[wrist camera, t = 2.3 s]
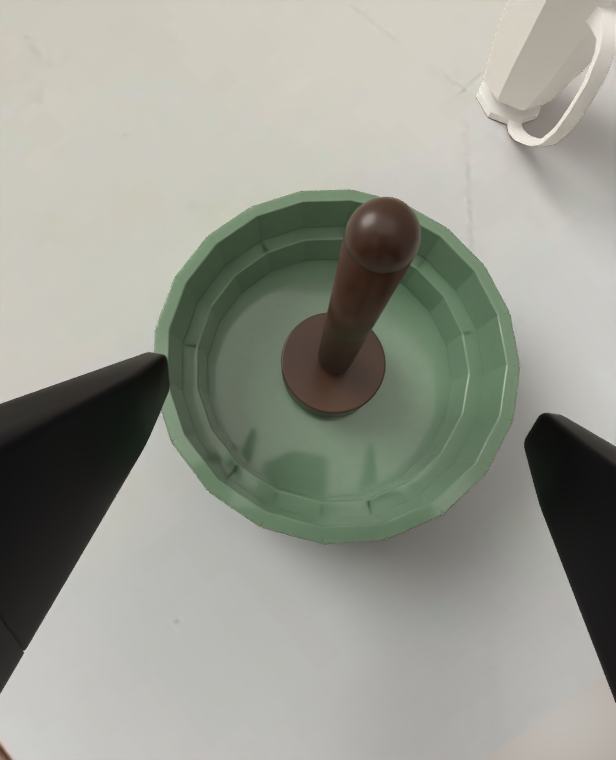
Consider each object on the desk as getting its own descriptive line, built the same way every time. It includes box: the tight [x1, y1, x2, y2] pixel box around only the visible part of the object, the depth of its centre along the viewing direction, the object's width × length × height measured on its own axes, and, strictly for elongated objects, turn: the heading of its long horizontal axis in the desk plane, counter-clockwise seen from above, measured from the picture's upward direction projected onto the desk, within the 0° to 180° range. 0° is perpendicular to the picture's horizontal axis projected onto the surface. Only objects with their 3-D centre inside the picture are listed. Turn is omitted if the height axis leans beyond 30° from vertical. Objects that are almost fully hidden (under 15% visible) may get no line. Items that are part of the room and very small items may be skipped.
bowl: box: [154, 190, 520, 544], centre depth 17 cm, size 15×15×4 cm
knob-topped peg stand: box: [281, 197, 421, 418], centre depth 13 cm, size 5×5×12 cm
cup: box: [476, 0, 616, 147], centre depth 20 cm, size 7×10×8 cm
